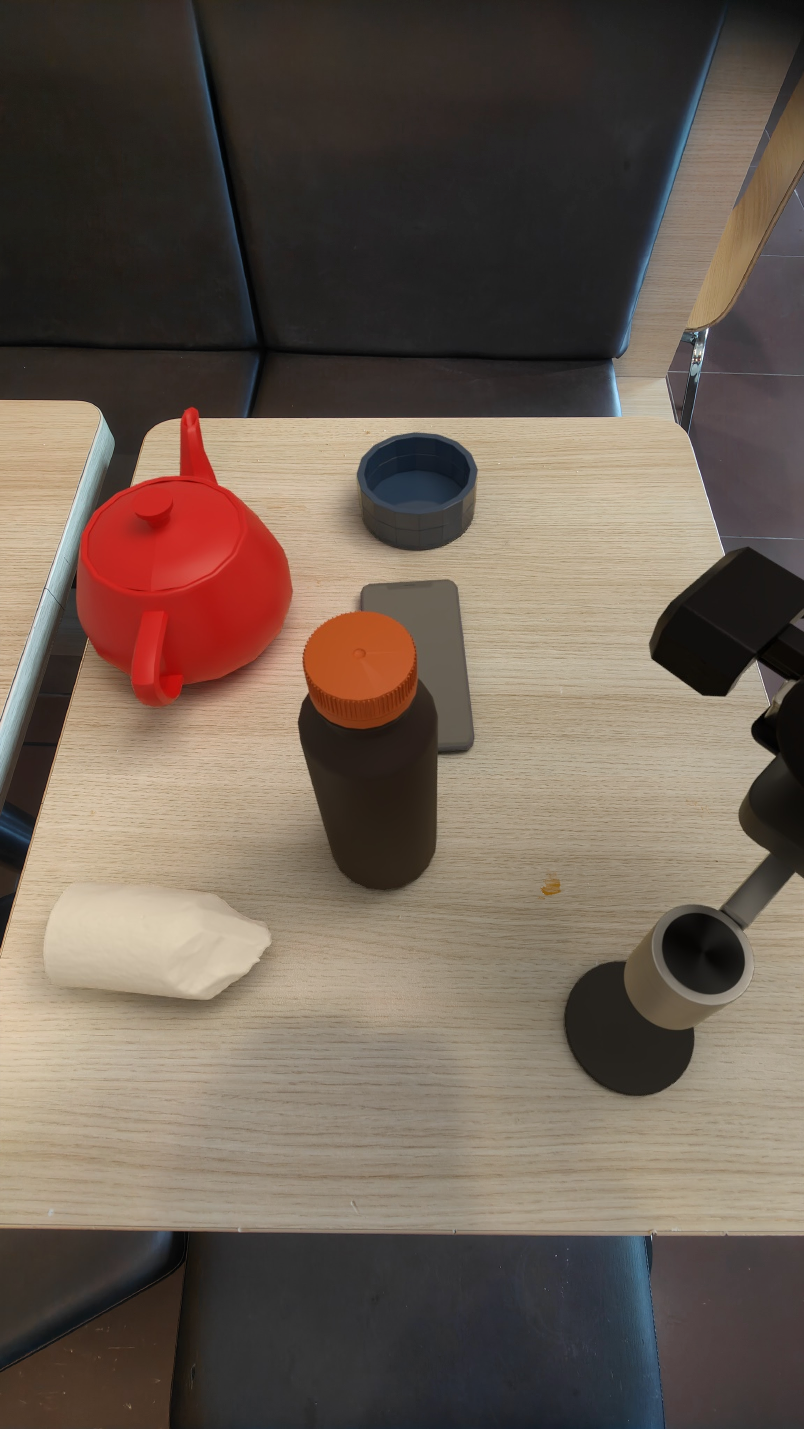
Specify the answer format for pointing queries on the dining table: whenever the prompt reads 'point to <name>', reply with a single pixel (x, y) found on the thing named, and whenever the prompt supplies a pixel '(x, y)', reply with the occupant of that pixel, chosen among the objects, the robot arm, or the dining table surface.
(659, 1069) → the coaster
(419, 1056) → the dining table surface
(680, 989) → the scoop
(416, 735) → the bottle
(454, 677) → the smartphone
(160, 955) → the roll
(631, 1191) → the dining table surface
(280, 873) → the dining table surface
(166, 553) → the teapot
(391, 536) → the bowl
